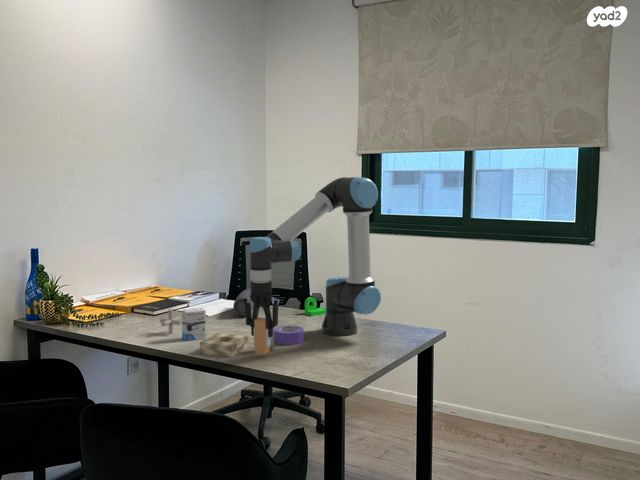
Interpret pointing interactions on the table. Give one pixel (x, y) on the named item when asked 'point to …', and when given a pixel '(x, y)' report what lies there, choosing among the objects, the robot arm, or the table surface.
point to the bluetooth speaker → (242, 302)
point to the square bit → (260, 336)
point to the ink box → (193, 324)
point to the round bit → (272, 341)
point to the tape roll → (288, 335)
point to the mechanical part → (313, 307)
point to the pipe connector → (171, 321)
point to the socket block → (224, 344)
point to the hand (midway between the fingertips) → (262, 345)
